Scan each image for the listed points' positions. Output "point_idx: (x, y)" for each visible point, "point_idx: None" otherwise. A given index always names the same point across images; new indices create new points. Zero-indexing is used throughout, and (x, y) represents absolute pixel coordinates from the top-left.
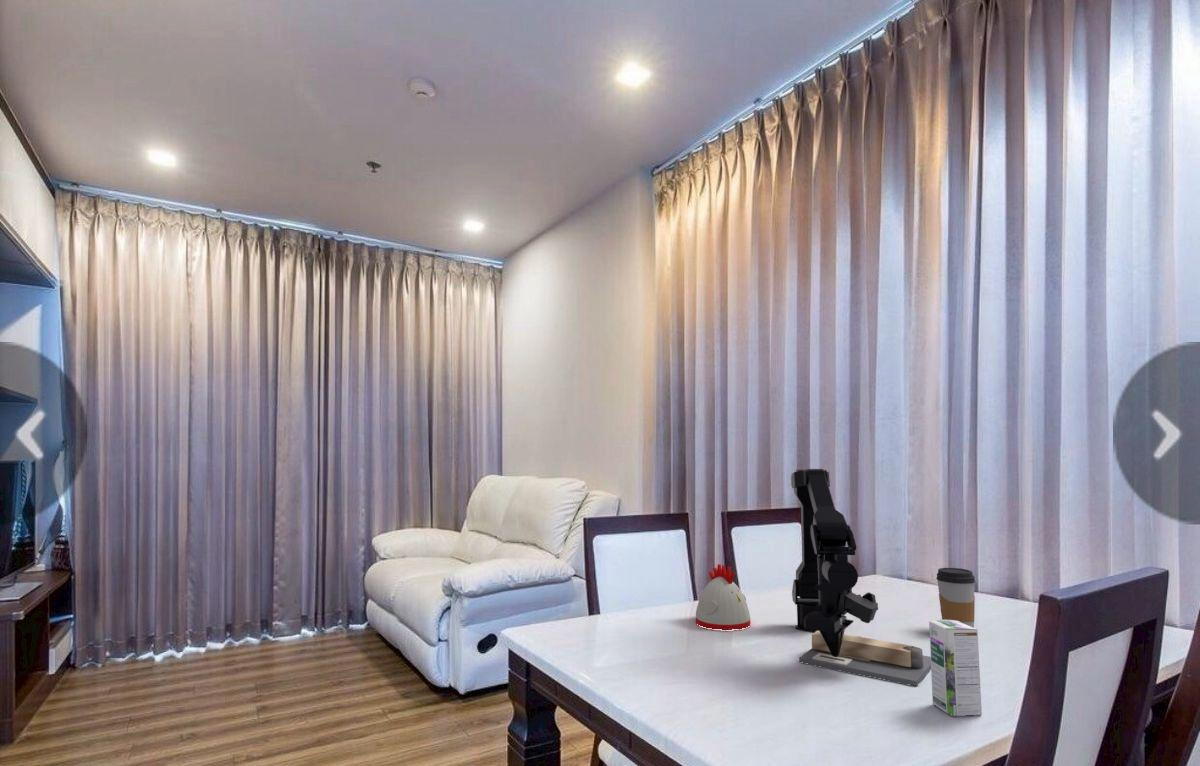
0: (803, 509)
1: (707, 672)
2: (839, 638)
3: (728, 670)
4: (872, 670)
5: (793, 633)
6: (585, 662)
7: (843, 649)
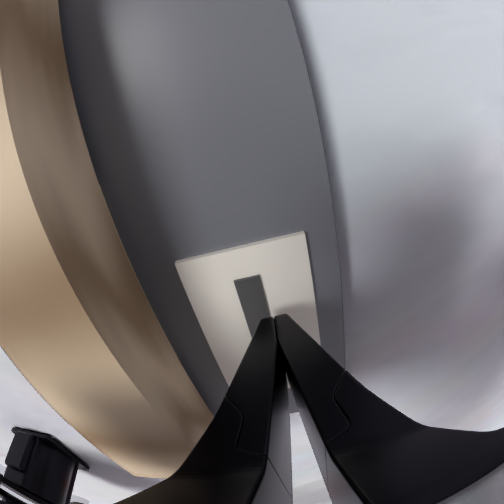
0: None
1: (493, 395)
2: (341, 399)
3: (476, 394)
4: (265, 57)
5: (112, 465)
6: None
7: (157, 349)
